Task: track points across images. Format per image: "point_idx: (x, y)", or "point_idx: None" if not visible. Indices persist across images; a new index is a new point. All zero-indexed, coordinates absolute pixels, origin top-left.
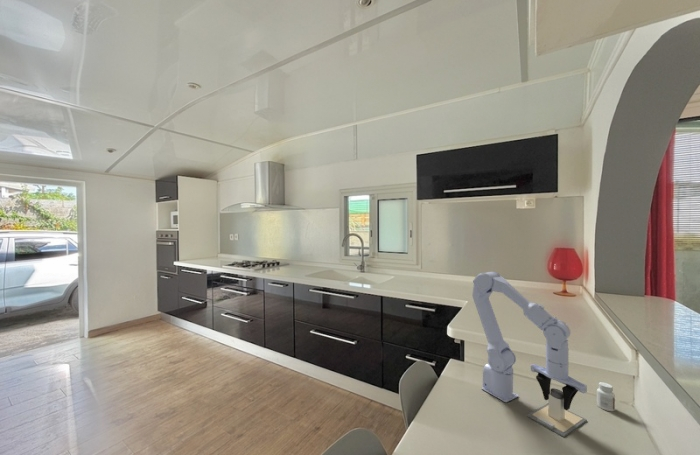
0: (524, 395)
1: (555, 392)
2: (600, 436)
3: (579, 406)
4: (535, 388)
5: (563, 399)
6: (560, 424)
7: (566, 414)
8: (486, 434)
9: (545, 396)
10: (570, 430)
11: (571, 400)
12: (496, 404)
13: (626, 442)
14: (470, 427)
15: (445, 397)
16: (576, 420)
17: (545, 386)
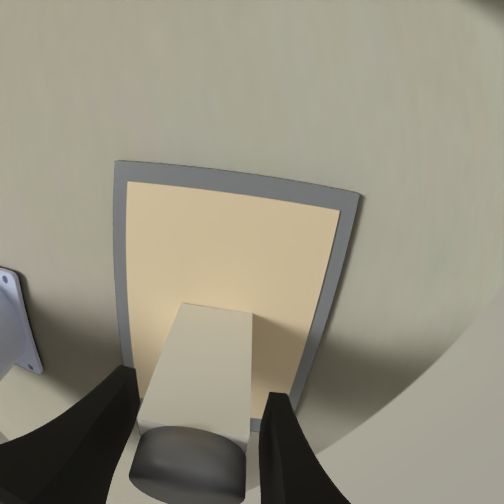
0: (17, 223)
1: (186, 502)
2: (417, 303)
3: (273, 11)
4: (18, 65)
5: (244, 452)
6: (253, 385)
7: (245, 251)
8: (148, 498)
9: (128, 428)
10: (300, 389)
11: (305, 450)
12: (47, 397)
13: (498, 247)
14: (118, 493)
15: (12, 433)
16: (311, 275)
17: (102, 495)
